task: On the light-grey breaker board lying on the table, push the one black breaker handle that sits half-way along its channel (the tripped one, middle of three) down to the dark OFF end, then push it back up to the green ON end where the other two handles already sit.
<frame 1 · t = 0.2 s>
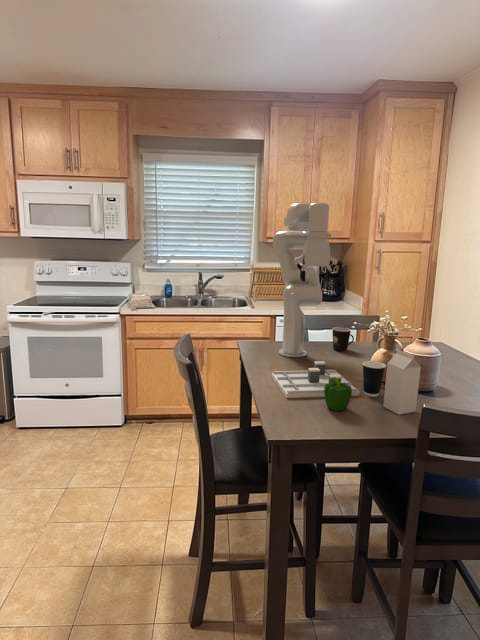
hand: (314, 281, 175), 36 cm above the table, tool pointing down, fingers open, 9 cm apart
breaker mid: (313, 375, 164), point 4 cm above the table, slide at 0.0 cm
breaker right: (334, 382, 157), point 4 cm above the table, slide at 5.0 cm
bell pepper: (336, 408, 145), on the table
dixie cup: (371, 394, 158), on the table
breaker board: (313, 385, 165), on the table
milk carton: (399, 410, 145), on the table
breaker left: (319, 367, 173), point 4 cm above the table, slide at 5.0 cm
coffee mug: (341, 351, 214), on the table
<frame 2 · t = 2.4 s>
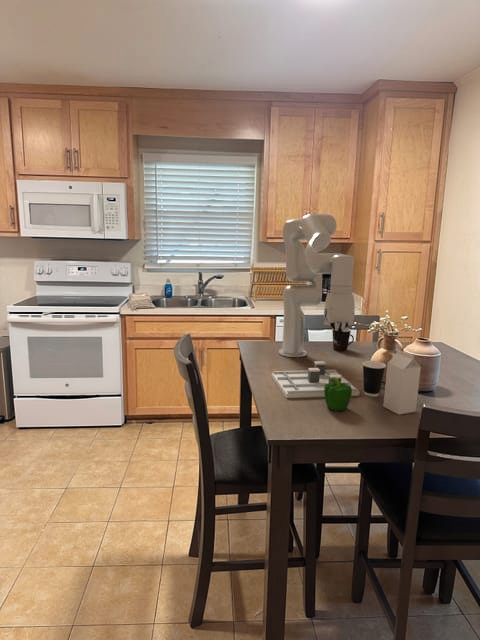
hand: (337, 340, 162), 17 cm above the table, tool pointing down, fingers closed
nothing on the table moved.
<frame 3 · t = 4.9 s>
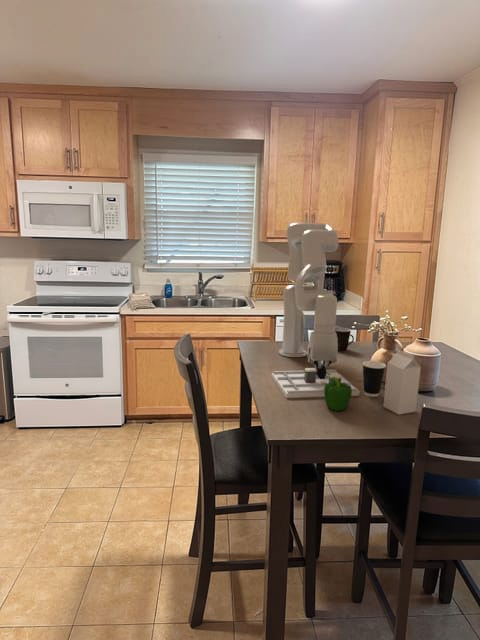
hand: (321, 377, 165), 3 cm above the table, tool pointing down, fingers closed
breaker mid: (310, 375, 164), point 4 cm above the table, slide at -1.3 cm, touching gripper
everything else where it was.
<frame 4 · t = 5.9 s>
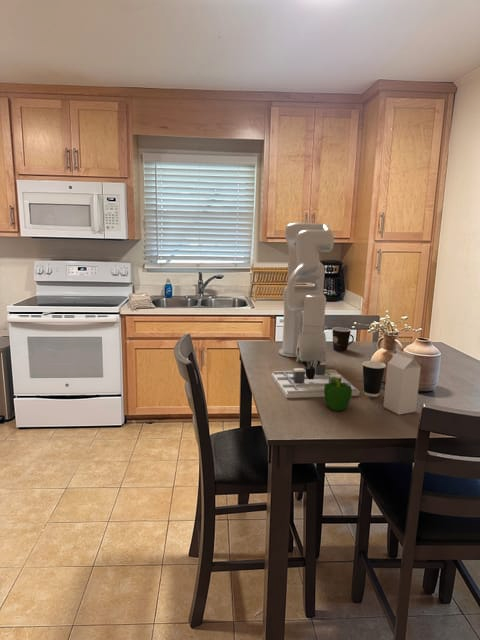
hand: (309, 378, 164), 3 cm above the table, tool pointing down, fingers closed
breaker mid: (298, 375, 163), point 4 cm above the table, slide at -5.6 cm, touching gripper
everything else where it was.
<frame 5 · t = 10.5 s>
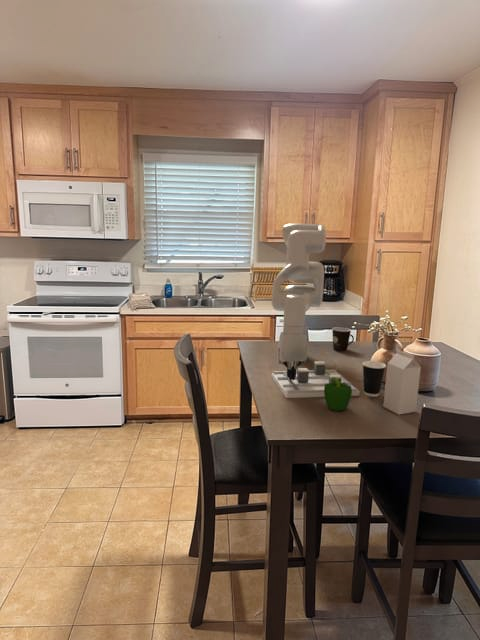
hand: (291, 378, 163), 3 cm above the table, tool pointing down, fingers closed
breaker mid: (302, 375, 163), point 4 cm above the table, slide at -4.2 cm, touching gripper
everything else where it was.
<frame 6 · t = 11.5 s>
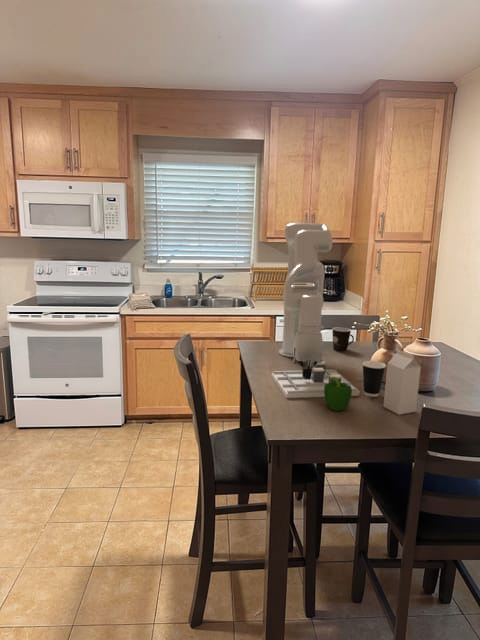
hand: (306, 378, 164), 3 cm above the table, tool pointing down, fingers closed
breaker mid: (318, 374, 164), point 4 cm above the table, slide at 1.6 cm, touching gripper
everything else where it was.
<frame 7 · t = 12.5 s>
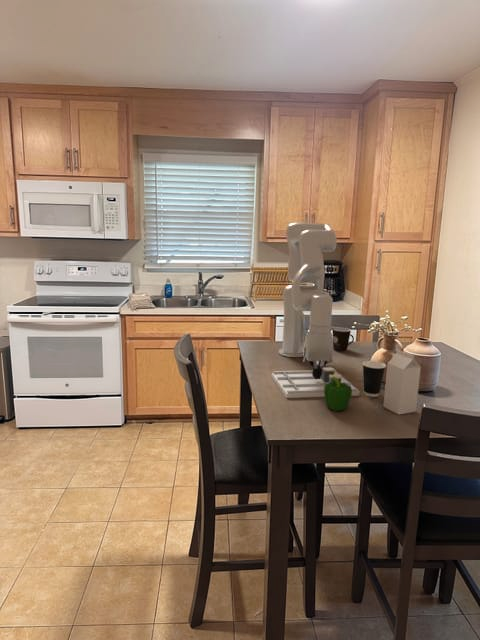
hand: (316, 378, 164), 3 cm above the table, tool pointing down, fingers closed
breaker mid: (328, 374, 165), point 4 cm above the table, slide at 5.4 cm, touching gripper
everything else where it was.
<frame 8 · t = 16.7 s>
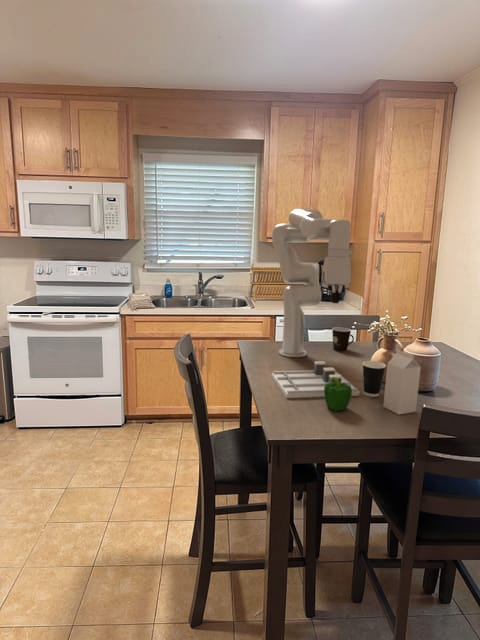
hand: (334, 302, 170), 29 cm above the table, tool pointing down, fingers closed
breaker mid: (328, 374, 165), point 4 cm above the table, slide at 5.7 cm
everything else where it was.
at the end: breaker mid slide at 5.7 cm; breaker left slide at 5.0 cm; breaker right slide at 5.0 cm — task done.
